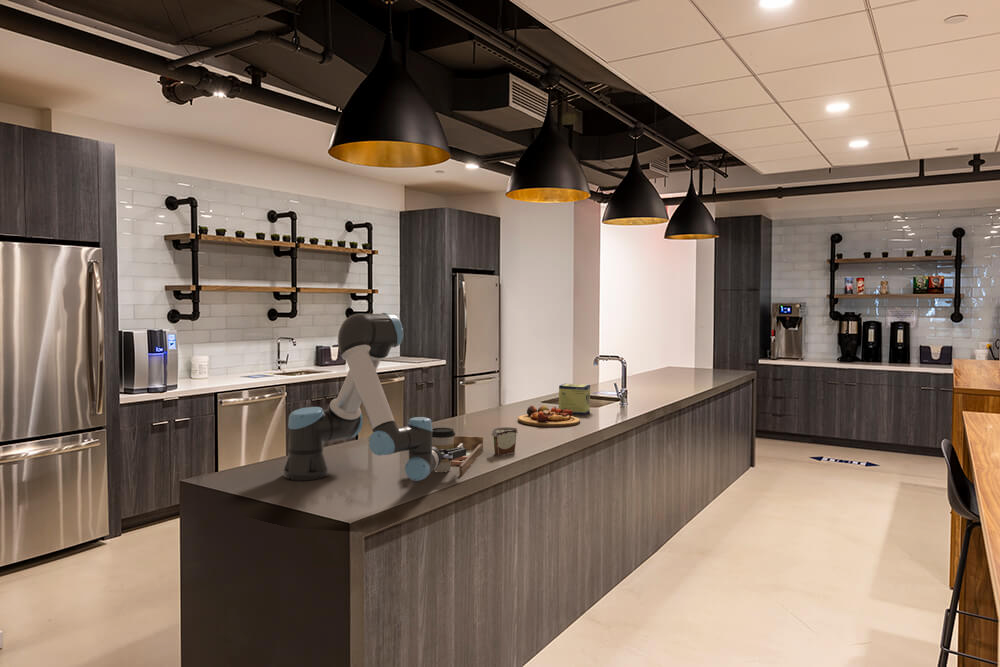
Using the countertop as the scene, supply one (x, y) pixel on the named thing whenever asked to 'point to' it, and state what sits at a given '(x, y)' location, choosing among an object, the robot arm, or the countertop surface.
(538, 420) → the wooden plate with food
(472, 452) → the wooden frame with crossbars
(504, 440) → the food container
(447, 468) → the coffee cup
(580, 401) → the protein box
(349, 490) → the countertop surface
